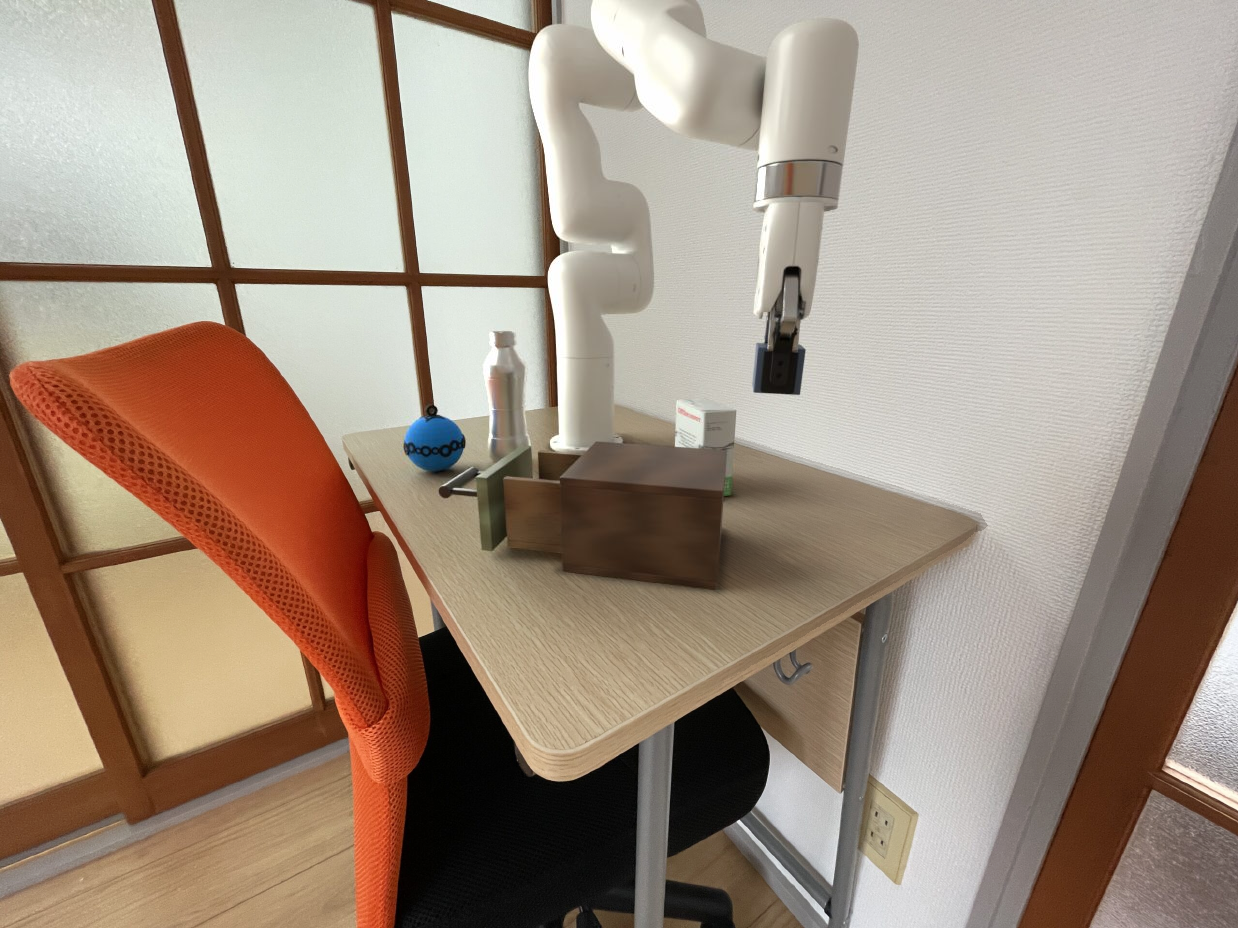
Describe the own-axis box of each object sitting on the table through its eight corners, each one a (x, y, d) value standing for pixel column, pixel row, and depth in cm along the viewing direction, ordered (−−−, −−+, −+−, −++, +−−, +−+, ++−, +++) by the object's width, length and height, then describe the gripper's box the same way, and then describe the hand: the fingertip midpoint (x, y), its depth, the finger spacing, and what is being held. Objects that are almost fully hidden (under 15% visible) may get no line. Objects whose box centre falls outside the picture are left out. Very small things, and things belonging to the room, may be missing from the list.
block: (752, 385, 57) (756, 342, 56) (795, 387, 56) (800, 344, 55) (753, 392, 53) (757, 347, 52) (800, 395, 52) (805, 349, 51)
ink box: (732, 496, 70) (739, 408, 66) (699, 500, 68) (704, 411, 64) (702, 475, 77) (707, 396, 74) (671, 479, 76) (674, 398, 72)
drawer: (430, 544, 54) (421, 472, 52) (481, 503, 65) (476, 441, 62) (612, 565, 50) (612, 488, 48) (635, 518, 61) (636, 453, 58)
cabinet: (562, 571, 51) (559, 477, 48) (596, 519, 62) (595, 441, 59) (715, 590, 48) (723, 490, 45) (721, 531, 59) (727, 450, 56)
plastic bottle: (480, 463, 82) (469, 332, 76) (515, 454, 87) (508, 329, 81) (504, 472, 78) (495, 334, 72) (540, 462, 83) (535, 332, 77)
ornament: (418, 484, 73) (410, 413, 70) (399, 468, 80) (391, 403, 77) (477, 472, 78) (471, 406, 75) (454, 458, 85) (448, 397, 82)
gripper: (752, 206, 57) (737, 374, 63) (758, 175, 42) (738, 402, 47) (824, 205, 56) (803, 377, 62) (859, 172, 40) (825, 407, 46)
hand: (775, 386), depth 54 cm, fingers closed on block, 4 cm apart
